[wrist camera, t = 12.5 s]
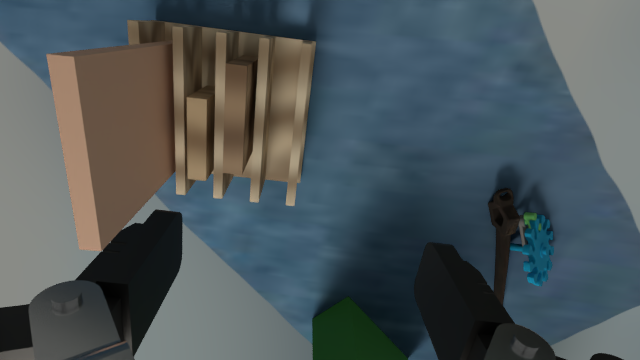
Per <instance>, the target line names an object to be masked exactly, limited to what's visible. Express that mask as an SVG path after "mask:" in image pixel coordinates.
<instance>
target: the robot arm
mask: <svg viewBox="0 0 640 360" xmlns="http://www.w3.org/2000/svg"><path fill="white" fill-rule="evenodd" d="M181 260H182V214H181V213H180V212H173V211H165V210H155V211H154V212H153V213H152V214H151V215H150V216H149V218H148V219H147V220H146V221H145V222H144V224H140V223H134V224H132V225H131V226H129V227H127V228H125V229H123V230H121V231H120V232H119V233H118V234H117V235H116V236H115V237H114V238H113V239H112V240H111V243H109V244H108V245H107V246H106V247H105V248H104V249H103V252H100V253H99V255H98V256H97V257H96V258H95V259H94V260H93V261H92V262H91V263H90V264H89V266H88V267H87V268H86V269H85V270H84V271H83V272H82V273H81V274H80V275H79V276H78V278H77V279H76V280H74V281H68V282H63V283H59V284H56V285H54V286H51V287H49V288H47V289H45V290H43V291H42V292H41V293H39V294H38V295H37V296H36V297H35V298H34V299H33V300H32V302H31V303H30V304H27V305H20V306H12V307H3V308H0V360H134V355H135V353H136V351H137V349H138V348H139V346H140V344H141V342H142V340H143V338H144V336H145V334H146V332H147V331H148V329H149V327H150V325H151V323H152V321H153V319H154V317H155V315H156V314H157V312H158V310H159V308H160V306H161V304H162V302H163V300H164V299H165V297H166V295H167V293H168V291H169V289H170V287H171V285H172V283H173V281H174V279H175V278H176V276H177V274H178V272H179V269H180V265H181ZM493 293H494V292H493V291H492V289H491V288H490V286H489V285H487V282H486V281H485V279H484V278H483V276H482V275H481V273H480V272H479V271H478V270H477V269H476V268H474V267H473V266H472V265H471V264H469V263H468V262H467V261H463V260H462V259H461V257H460V256H459V254H458V252H457V251H456V249H455V248H454V246H453V245H450V244H442V243H433V242H429V243H427V245H426V247H425V249H424V253H423V256H422V259H421V263H420V266H419V269H418V272H417V276H416V279H415V284H414V294H415V299H416V302H417V305H418V307H419V310H420V312H421V315H422V318H423V320H424V323H425V326H426V328H427V331H428V333H429V336H430V339H431V341H432V344H433V346H434V349H435V352H436V354H437V357H438V359H439V360H566V359H563V358H560V357H557V356H555V353H554V351H553V349H552V348H551V346H550V345H549V344H548V343H547V342H546V341H545V340H544V339H543V338H542V337H541V336H539V335H538V334H536V333H535V332H533V331H532V330H530V329H528V328H525V327H523V326H520V325H517V324H515V323H514V321H513V320H512V318H511V317H510V316H509V314H508V313H507V311H506V310H505V308H504V307H503V305H502V304H501V302H500V301H499V300H498V298H497V297H496V295H494V294H493ZM590 360H623V359H621V358H618V357H616V356H613V355H610V354H604V353H598V354H594V355H593V356H592V357H591V359H590Z"/></svg>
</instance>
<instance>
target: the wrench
mask: <svg viewBox="0 0 640 360" xmlns="http://www.w3.org/2000/svg"><path fill="white" fill-rule="evenodd" d="M503 192H507V193H506V194H505V195H503V196H500V194H501V193H503ZM513 199H514V198H513V193H512V190H511V189H509V188H504V189H500V190H498V191H497V192H496V193H495V195H494V201H491V202H489V203H488V206H489V211H490V216H491V221H492V225H493V226H495V227H496V260H495V280H494V295H496V297H497V298H498V300H499V301H500V302H501V304H502V305H503V299H504V291H505V284H506V276H507V268H508V260H509V251H510V238H511V235H512V234H515V232H516V229H517V227H518V224H519V221H520V216H519V215H518V213H517V211H516V209H515V207H514V206H513Z"/></svg>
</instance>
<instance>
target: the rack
mask: <svg viewBox="0 0 640 360" xmlns="http://www.w3.org/2000/svg"><path fill="white" fill-rule="evenodd" d="M127 22H128V36H129V45H134V44H143V43H153V42H162V41H171V40H172V41H173V80H174V119H175V159H176V194H180V195H186V193H187V192H188V191H189V189H190V188H191V187H192V185H193V184H194V182H195V181H196V180H193V179H188V166H187V97H188V96H190V95H191V94H193V93H195V92H196V91H198V90H200V89H202V88H203V87H205V86H207V85H208V86H215V130H214V170H213V171H212V173H211V174H214V190H213V198H220V199H222V198H223V196H224V194H225V192H226V190H227V188H228V186H229V184H230V182H231V180H232V178H233V176H238V177H247V178H251V190H250V202H259V199H260V195H261V192H262V188H263V185H264V181H265V179H266V180H276V181H285V182H288V188H287V198H286V205H290V206H294V204H295V195H296V186H297V183H300V178H301V169H302V161H303V152H304V143H305V134H306V125H307V116H308V108H309V99H310V90H311V81H312V72H313V64H314V55H315V46H316V42H315V41H307V40H300V39H292V38H285V37H277V36H270V35H262V34H255V33H247V32H239V31H232V30H224V29H217V28H209V27H202V26H194V25H187V24H179V23H171V22H164V21H156V20H151V21H142V20H127ZM243 55H245V56H253V57H258V70H257V87H256V104H255V121H254V139H253V152H252V154H251V156H250V158H249V161H248V163H247V165H246V167H245V169H244V172H243V174H242V175H238V174H228V173H223V141H224V103H225V66H226V63H227V62H230V61H232V60H234V59H236V58H239V57H241V56H243Z"/></svg>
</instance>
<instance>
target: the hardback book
mask: <svg viewBox="0 0 640 360" xmlns="http://www.w3.org/2000/svg"><path fill="white" fill-rule="evenodd" d="M312 326H313V360H408V358H407V357H406V356H405V355H404V354H403V353H402V352H401V351H400V350H399V349H398V348H397V347H396V345H395V344H394V343H393V342H392V341H391V340H390V339H389V338H388V337H387V336H386V335H385V334H384V333H383V332H382V331H381V330H380V329H379V328H378V327H377V326H376V325H375V323H374V322H373V321H372V320H371V319H370V318H369V317H368V316H367V315H366V314H365V313H364V312H363V311H362V310H361V309H360V308H359V307H358V306H357V305H356V304H355V302H354V301H353V300H352V299H351V298H350V297H349V296H348V297H346V298H345V299H343V300H342V301H340V302H338V303H337V304H335V305H334V306H332V307H331V308H329V309H327V310H326V311H324V312H323V313H321V314H319V315H318V316H316V317H315V318H313V319H312Z"/></svg>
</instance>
